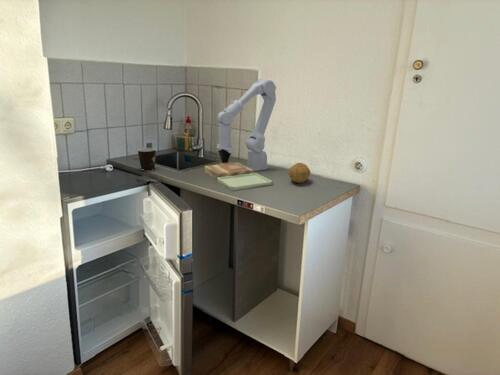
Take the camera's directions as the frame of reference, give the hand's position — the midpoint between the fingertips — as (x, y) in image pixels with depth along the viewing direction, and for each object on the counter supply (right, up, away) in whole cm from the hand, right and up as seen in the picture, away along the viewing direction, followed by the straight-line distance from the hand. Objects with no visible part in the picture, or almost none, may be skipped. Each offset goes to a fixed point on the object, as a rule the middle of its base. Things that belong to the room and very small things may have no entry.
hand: (225, 164), depth 187 cm
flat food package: (+2, -4, -2) cm, 5 cm away
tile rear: (+2, -2, -3) cm, 4 cm away
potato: (+34, -9, -14) cm, 38 cm away
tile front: (+5, -3, -8) cm, 10 cm away
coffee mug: (-39, -3, +3) cm, 40 cm away
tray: (+10, -9, -16) cm, 21 cm away
